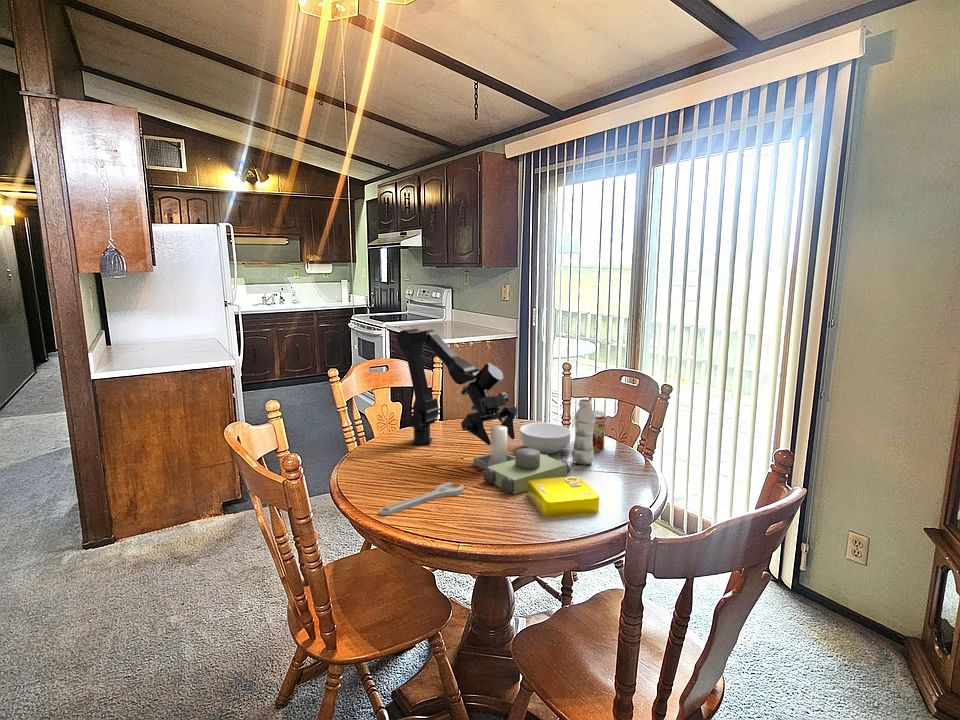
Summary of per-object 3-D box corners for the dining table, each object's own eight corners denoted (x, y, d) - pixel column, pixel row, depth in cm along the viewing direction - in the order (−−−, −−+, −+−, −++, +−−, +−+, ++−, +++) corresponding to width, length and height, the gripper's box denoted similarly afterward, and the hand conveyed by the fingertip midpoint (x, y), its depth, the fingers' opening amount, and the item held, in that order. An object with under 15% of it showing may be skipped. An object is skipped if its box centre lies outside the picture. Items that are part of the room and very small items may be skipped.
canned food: (601, 453, 178) (603, 417, 176) (577, 449, 181) (579, 415, 179) (605, 446, 185) (607, 411, 183) (582, 443, 188) (584, 409, 186)
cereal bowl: (558, 462, 170) (559, 440, 169) (510, 452, 178) (511, 432, 177) (577, 447, 184) (578, 426, 183) (532, 439, 192) (532, 419, 191)
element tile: (525, 494, 146) (526, 477, 146) (577, 489, 150) (578, 473, 149) (544, 519, 132) (544, 500, 131) (601, 513, 135) (602, 495, 134)
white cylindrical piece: (488, 461, 170) (488, 424, 168) (509, 462, 169) (509, 425, 167) (487, 469, 163) (488, 430, 161) (509, 469, 163) (509, 431, 161)
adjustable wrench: (383, 519, 132) (383, 512, 132) (371, 509, 137) (371, 503, 137) (467, 493, 147) (467, 487, 146) (453, 485, 152) (453, 479, 151)
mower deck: (458, 468, 164) (458, 442, 163) (514, 453, 177) (515, 429, 176) (510, 495, 145) (511, 466, 143) (569, 476, 158) (570, 450, 156)
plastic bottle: (568, 460, 171) (570, 399, 167) (587, 458, 173) (589, 397, 169) (577, 468, 165) (580, 403, 161) (597, 465, 167) (600, 402, 163)
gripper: (466, 388, 160) (489, 433, 153) (515, 380, 171) (538, 422, 164) (451, 408, 167) (472, 452, 160) (498, 400, 178) (520, 441, 171)
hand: (501, 441), depth 164 cm, fingers open, 9 cm apart
